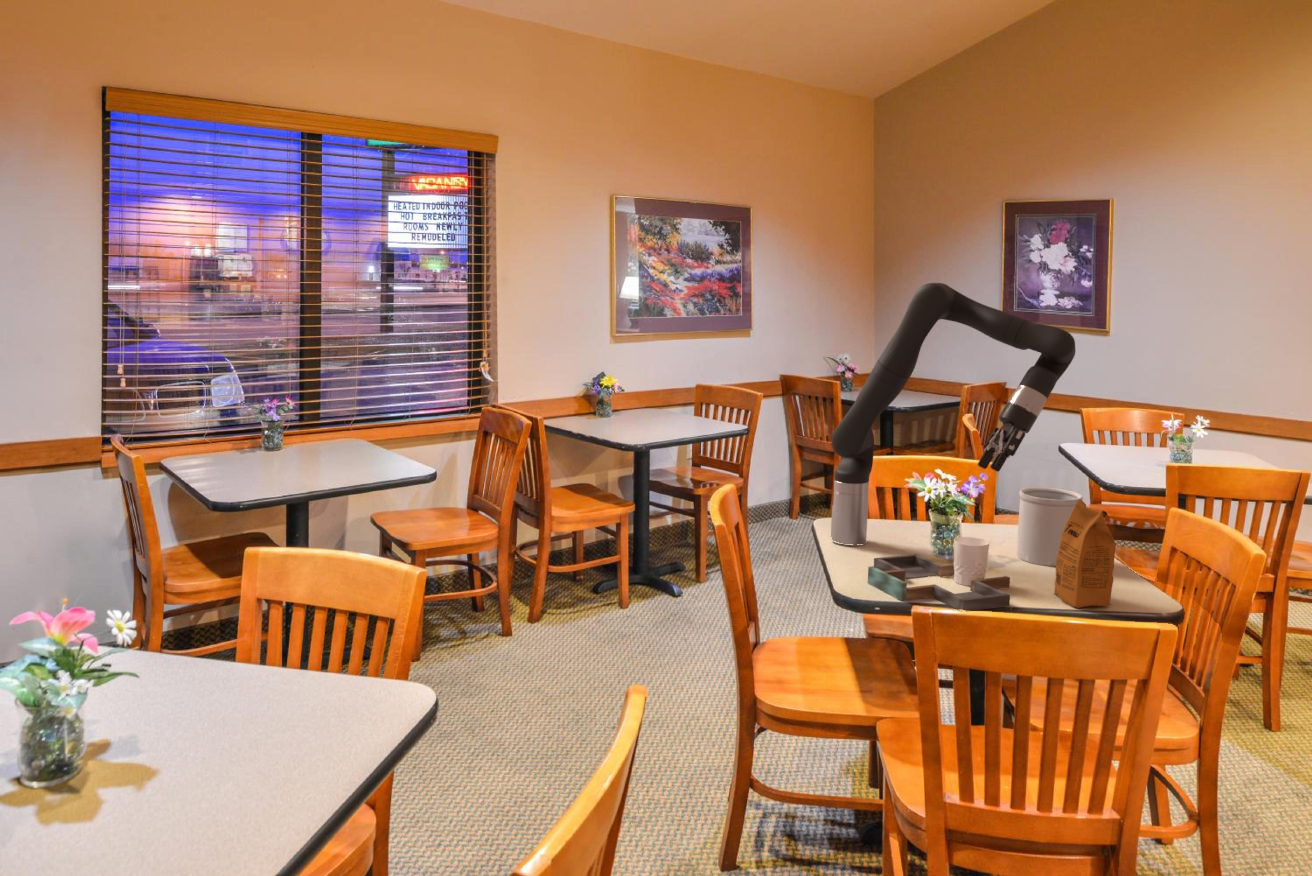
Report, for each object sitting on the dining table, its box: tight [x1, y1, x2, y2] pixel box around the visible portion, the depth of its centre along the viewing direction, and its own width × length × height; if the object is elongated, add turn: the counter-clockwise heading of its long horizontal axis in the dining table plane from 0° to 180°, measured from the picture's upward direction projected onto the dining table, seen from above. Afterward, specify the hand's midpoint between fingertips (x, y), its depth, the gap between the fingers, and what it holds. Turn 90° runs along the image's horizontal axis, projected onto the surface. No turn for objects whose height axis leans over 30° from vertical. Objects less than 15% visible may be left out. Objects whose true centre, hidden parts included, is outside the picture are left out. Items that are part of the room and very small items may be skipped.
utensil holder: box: [1016, 486, 1083, 567], centre depth 235 cm, size 15×15×18 cm
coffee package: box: [1053, 499, 1116, 609], centre depth 202 cm, size 10×12×22 cm
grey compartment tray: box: [867, 553, 1011, 611], centre depth 213 cm, size 34×30×4 cm
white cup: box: [953, 536, 990, 587], centre depth 215 cm, size 8×8×10 cm
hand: (987, 468), depth 215 cm, fingers open, 8 cm apart
